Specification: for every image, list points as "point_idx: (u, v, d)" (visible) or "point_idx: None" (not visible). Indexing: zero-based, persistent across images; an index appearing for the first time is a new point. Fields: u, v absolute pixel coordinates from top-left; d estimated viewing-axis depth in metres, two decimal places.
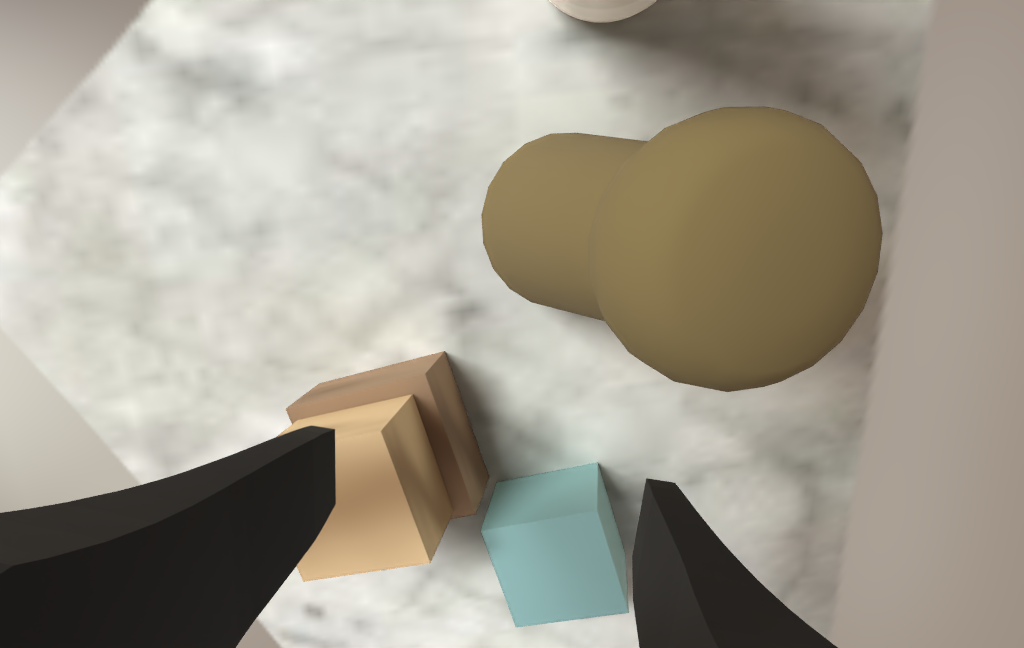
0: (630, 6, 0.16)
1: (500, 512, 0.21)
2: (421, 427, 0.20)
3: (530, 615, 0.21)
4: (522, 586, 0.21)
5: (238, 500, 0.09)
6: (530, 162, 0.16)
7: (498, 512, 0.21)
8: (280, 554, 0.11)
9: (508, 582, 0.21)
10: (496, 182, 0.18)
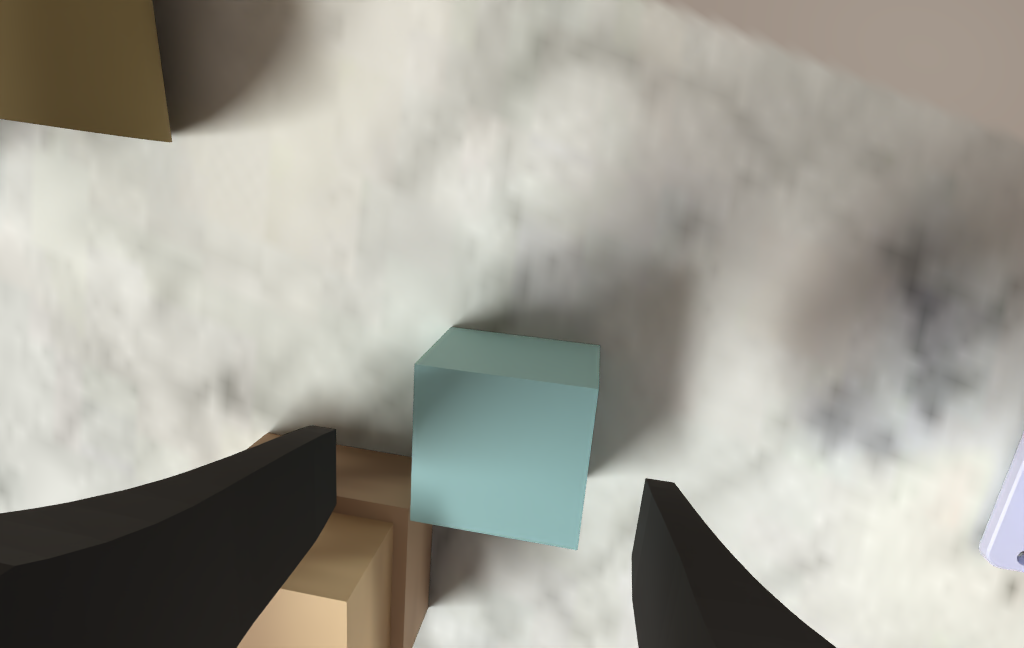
0: None
1: None
2: None
3: (561, 522, 0.14)
4: (510, 510, 0.14)
5: (239, 500, 0.09)
6: None
7: None
8: (281, 554, 0.11)
9: (498, 524, 0.14)
10: None
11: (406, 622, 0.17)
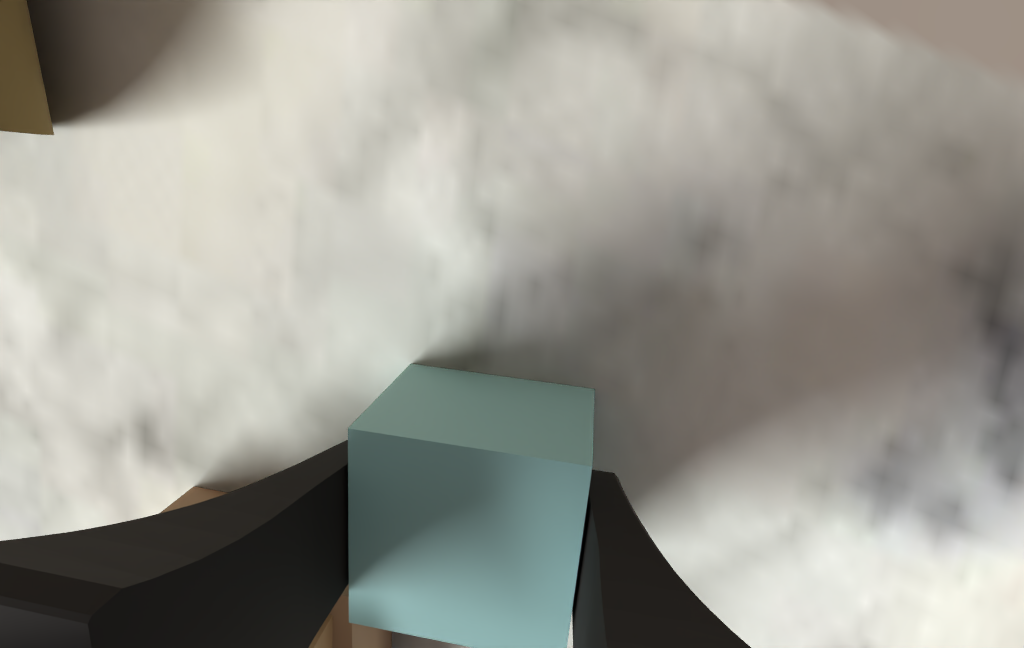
0: None
1: None
2: None
3: (543, 631, 0.11)
4: (477, 614, 0.11)
5: (306, 512, 0.09)
6: None
7: None
8: (340, 565, 0.11)
9: (462, 631, 0.11)
10: None
11: None
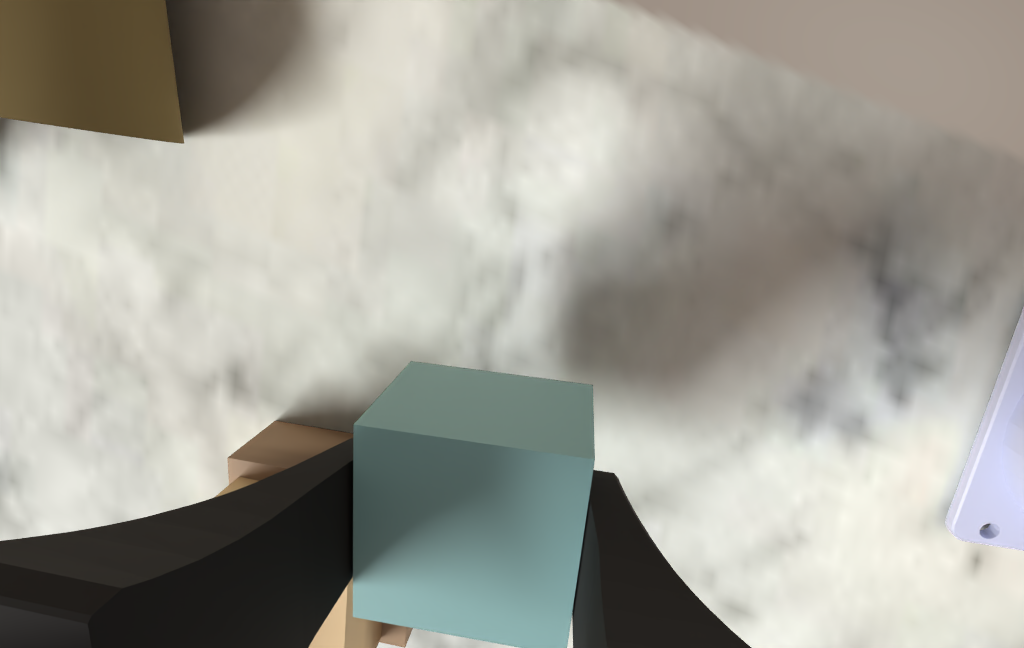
0: None
1: None
2: None
3: (545, 622, 0.11)
4: (480, 606, 0.11)
5: (307, 512, 0.09)
6: None
7: None
8: (340, 565, 0.11)
9: (465, 624, 0.11)
10: None
11: None
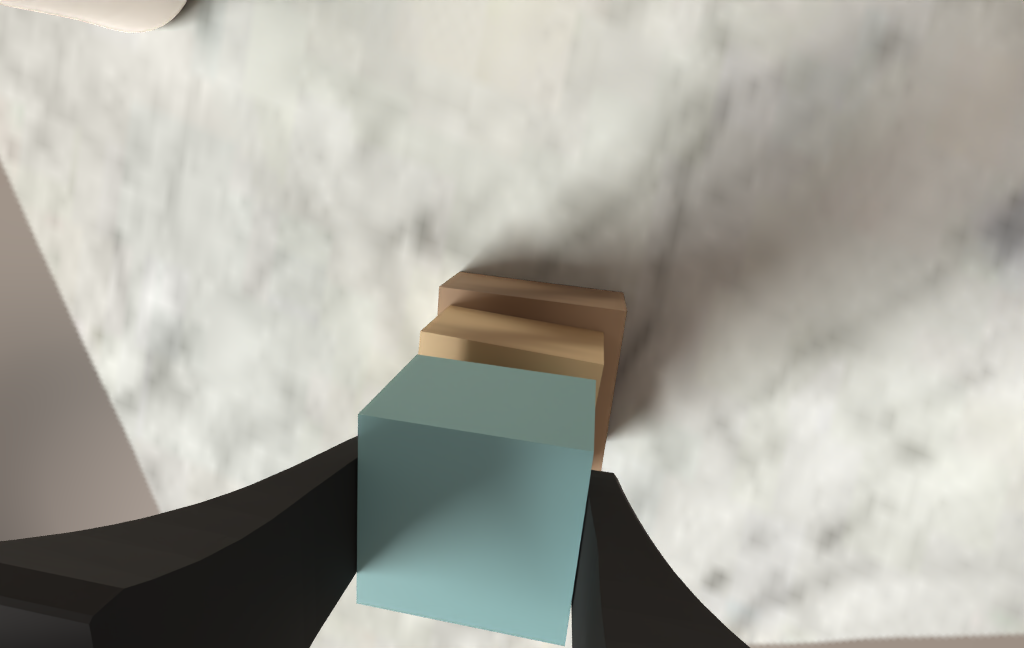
0: None
1: None
2: (486, 313, 0.17)
3: (545, 612, 0.11)
4: (481, 595, 0.11)
5: (308, 513, 0.09)
6: None
7: None
8: (341, 565, 0.11)
9: (466, 612, 0.11)
10: None
11: (606, 431, 0.18)
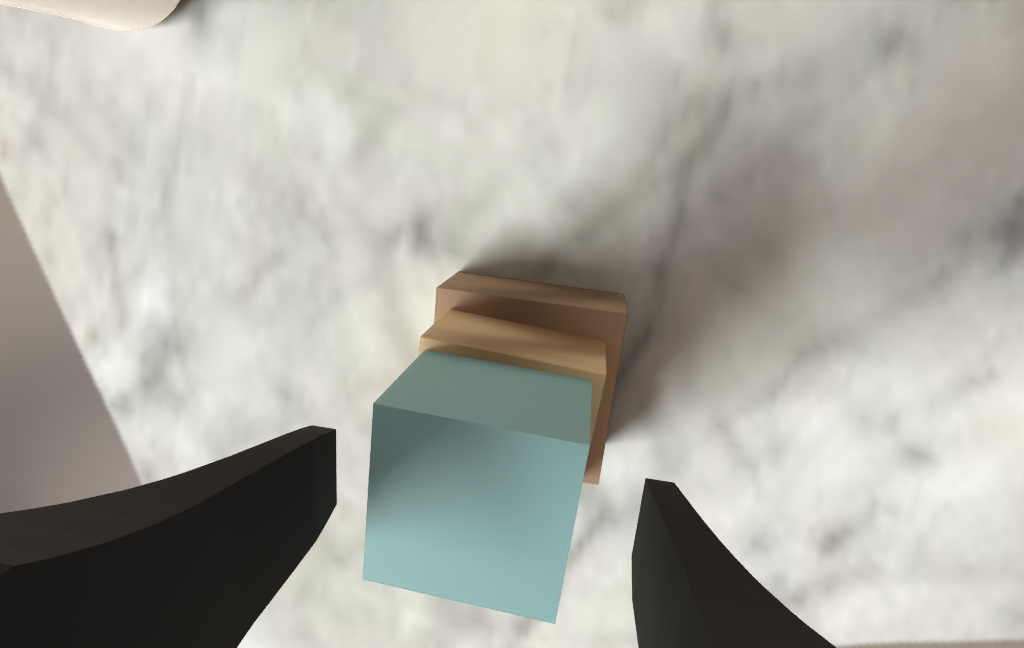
0: None
1: None
2: (487, 318, 0.17)
3: (538, 592, 0.12)
4: (479, 575, 0.12)
5: (239, 500, 0.09)
6: None
7: None
8: (281, 554, 0.11)
9: (465, 590, 0.12)
10: None
11: None
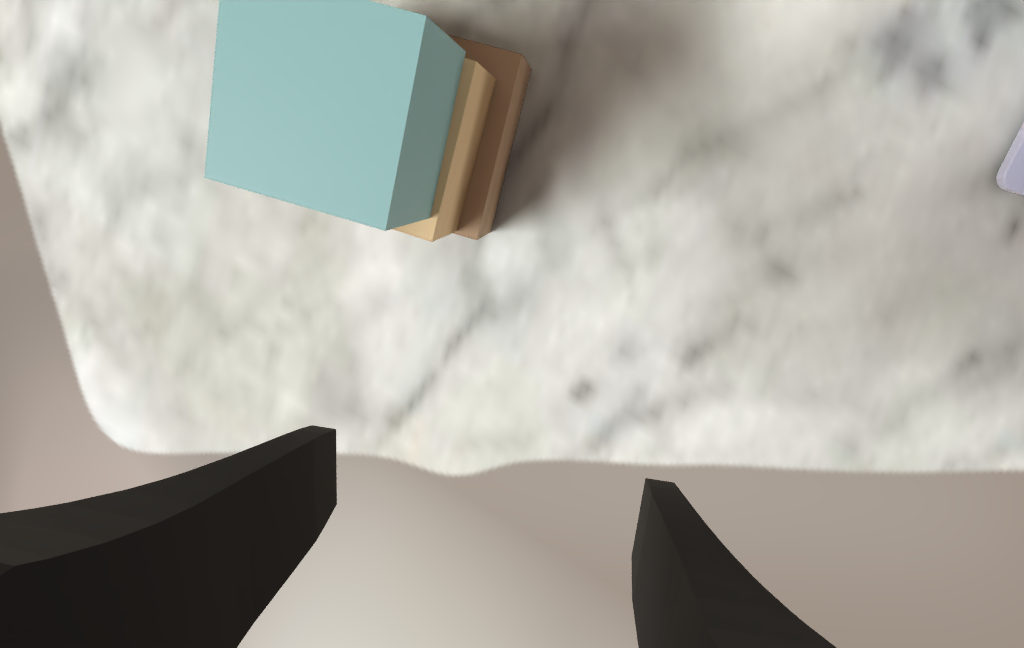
0: None
1: None
2: None
3: (371, 193, 0.12)
4: (316, 171, 0.12)
5: (239, 500, 0.09)
6: None
7: None
8: (281, 554, 0.11)
9: (302, 190, 0.12)
10: None
11: (490, 189, 0.18)
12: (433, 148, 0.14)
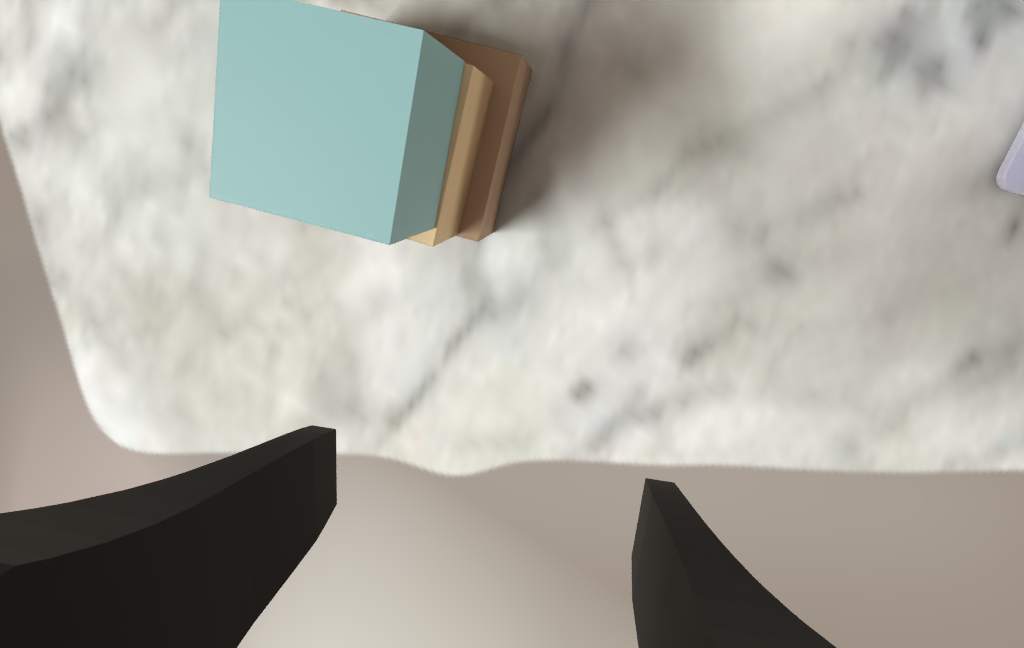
0: None
1: None
2: None
3: (373, 207, 0.12)
4: (319, 188, 0.12)
5: (239, 500, 0.09)
6: None
7: None
8: (281, 554, 0.11)
9: (305, 207, 0.12)
10: None
11: (490, 191, 0.18)
12: (435, 159, 0.14)
